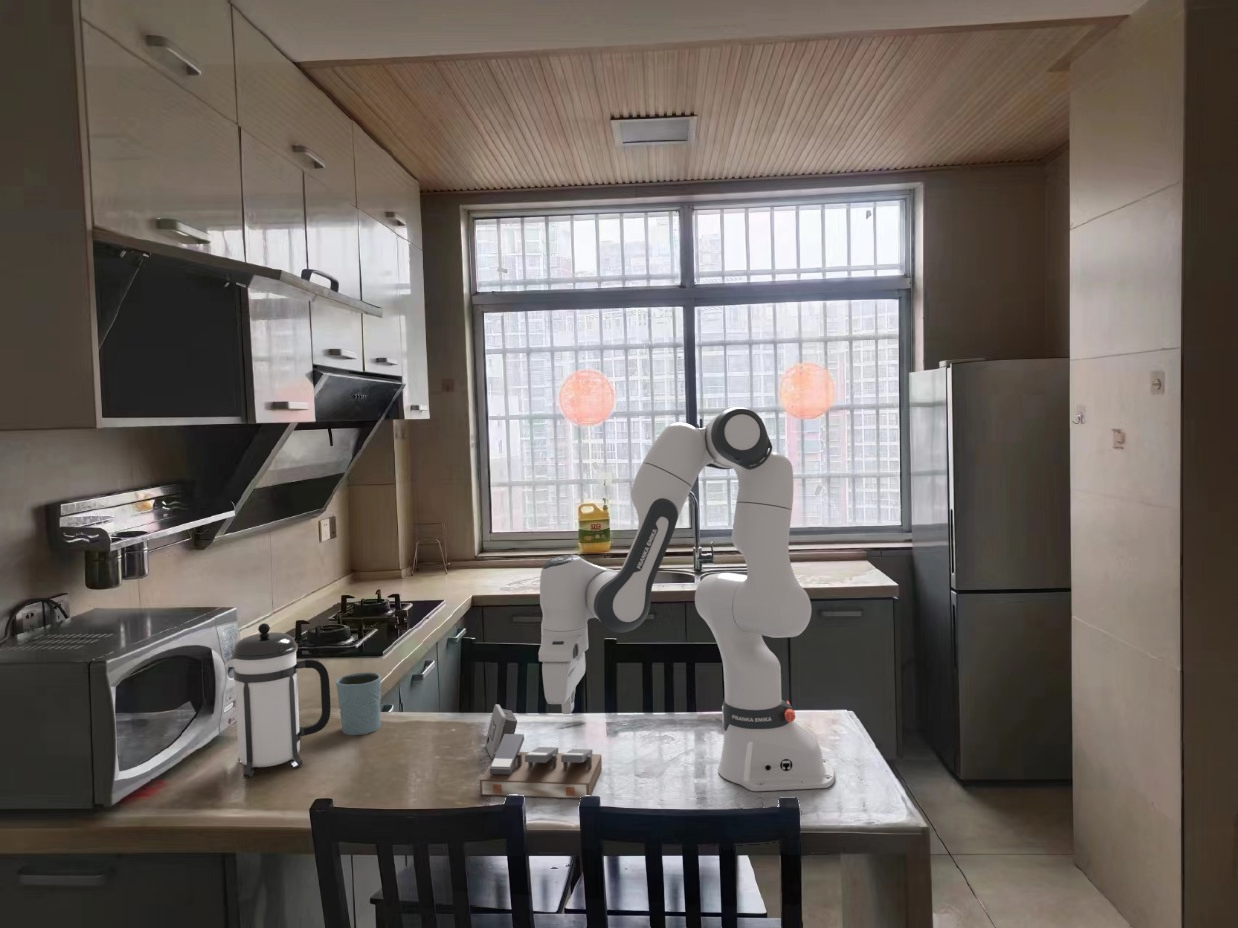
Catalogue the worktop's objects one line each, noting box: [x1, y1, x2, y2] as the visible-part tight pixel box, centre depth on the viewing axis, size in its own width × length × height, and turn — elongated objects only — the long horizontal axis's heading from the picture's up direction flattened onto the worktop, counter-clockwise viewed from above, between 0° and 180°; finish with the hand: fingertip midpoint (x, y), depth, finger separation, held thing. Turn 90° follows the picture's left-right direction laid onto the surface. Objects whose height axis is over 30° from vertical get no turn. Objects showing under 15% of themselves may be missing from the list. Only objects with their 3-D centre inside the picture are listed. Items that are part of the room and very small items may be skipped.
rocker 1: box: [489, 733, 525, 774], centre depth 169 cm, size 4×11×1 cm, turn 172°
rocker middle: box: [525, 746, 559, 763], centre depth 168 cm, size 4×11×1 cm, turn 172°
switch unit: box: [479, 751, 603, 800], centre depth 168 cm, size 21×14×5 cm
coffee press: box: [224, 623, 332, 779], centre depth 181 cm, size 17×16×30 cm
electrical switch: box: [484, 704, 518, 760], centre depth 185 cm, size 9×5×9 cm, turn 17°
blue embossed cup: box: [335, 672, 382, 736], centre depth 201 cm, size 10×10×12 cm
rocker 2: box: [561, 748, 593, 763], centre depth 167 cm, size 4×11×1 cm, turn 172°
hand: (568, 711), depth 165 cm, fingers closed
